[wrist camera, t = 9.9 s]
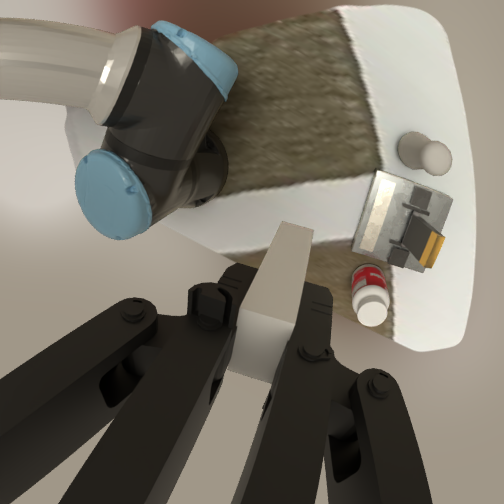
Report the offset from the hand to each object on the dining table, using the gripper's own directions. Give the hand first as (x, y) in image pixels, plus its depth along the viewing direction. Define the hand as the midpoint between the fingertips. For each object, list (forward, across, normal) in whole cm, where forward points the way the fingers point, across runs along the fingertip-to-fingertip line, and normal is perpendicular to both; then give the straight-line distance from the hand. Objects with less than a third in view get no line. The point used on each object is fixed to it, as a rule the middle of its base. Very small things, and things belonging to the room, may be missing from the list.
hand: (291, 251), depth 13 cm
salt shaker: (+34, +14, +6) cm, 37 cm away
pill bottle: (+34, +14, -18) cm, 41 cm away
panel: (+34, +16, -6) cm, 38 cm away
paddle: (+31, +17, -6) cm, 36 cm away
